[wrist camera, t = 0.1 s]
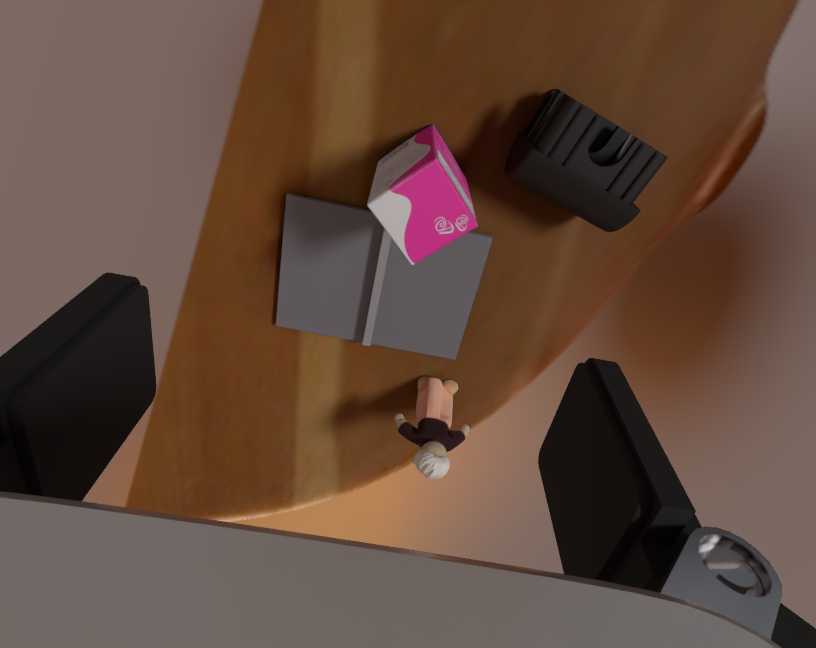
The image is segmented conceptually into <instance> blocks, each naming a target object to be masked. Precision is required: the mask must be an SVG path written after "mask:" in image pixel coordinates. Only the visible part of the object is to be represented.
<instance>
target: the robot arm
mask: <svg viewBox="0 0 816 648" xmlns="http://www.w3.org/2000/svg"><path fill="white" fill-rule="evenodd" d="M155 393H156V376H155V365H154V353H153V342H152V330H151V319H150V307H149V296H148V290H147V288H146V287H145V286H142V285H140V282H139V280H138V279H137V278H136V277H131V276H125V275H119V274H114V273H105V274H103V275H102V276H100V277H99V278H98V279H97V280H96V281H94V282H93V283H92V284H91V285H89V286H88V287H87V288H86V289H84V290H83V291H82V292H81V293H79V294H78V295H77V296H76V297H74V298H73V299H72V300H71V301H69V302H68V303H67V304H66V305H64V306H63V307H62V308H61V309H59V310H58V311H57V312H56V313H54V314H53V315H52V316H51V317H49V318H48V319H47V320H46V321H44V322H43V323H42V324H41V325H39V326H38V327H37V328H36V329H35V330H33V331H32V332H31V333H30V334H28V335H27V336H26V337H25V338H23V339H22V340H21V341H20V342H18V343H17V344H16V345H15V346H13V347H12V348H11V349H10V350H8V351H7V352H6V353H5V354H3V355H2V356H1V357H0V648H816V629H815V628H814V627H813V626H811V625H810V624H809V623H807V622H806V621H804V620H803V619H802V618H800V617H799V616H798V615H796V614H795V613H794V612H792V611H791V610H790V609H788V608H787V607H785V606H784V605H783V604H781V603H780V601H781V597H782V585H781V582H780V580H779V577H778V575H777V573H776V571H775V570H774V568H773V567H772V566H771V564H770V563H769V561H768V560H767V559H766V558H765V557H764V556H763V555H762V554H761V553H760V552H759V551H758V550H757V549H756V548H755V547H753V546H752V545H751V544H749V543H748V542H747V541H745V540H744V539H742V538H740V537H739V536H737V535H735V534H733V533H731V532H729V531H726V530H723V529H720V528H717V527H701V525H700V523H699V521H698V519H697V517H696V516H695V512H696V511H695V509H694V507H693V506H692V503H691V501H690V499H689V498H688V496H687V494H686V492H685V490H684V488H683V486H682V484H681V483H680V481H679V479H678V477H677V475H676V473H675V471H674V469H673V467H672V465H671V464H670V462H669V460H668V458H667V456H666V454H665V452H664V450H663V448H662V447H661V445H660V443H659V441H658V439H657V437H656V435H655V433H654V431H653V429H652V427H651V425H650V424H649V422H648V420H647V418H646V416H645V414H644V412H643V410H642V408H641V407H640V405H639V403H638V401H637V399H636V397H635V395H634V393H633V391H632V389H631V388H630V386H629V384H628V382H627V380H626V378H625V376H624V374H623V372H622V371H621V369H620V367H619V365H618V364H617V363H616V362H612V361H606V360H600V359H594V358H589V359H588V360H587V361H586V362H585V363H579V364H578V365H577V366H576V368H575V371H574V373H573V375H572V377H571V380H570V382H569V384H568V387H567V389H566V391H565V393H564V396H563V398H562V400H561V403H560V405H559V407H558V410H557V412H556V415H555V416H554V419H553V421H552V424H551V426H550V428H549V430H548V433H547V435H546V437H545V440H544V442H543V444H542V446H541V449H540V452H539V460H538V462H539V463H538V464H539V469H540V473H541V477H542V482H543V486H544V490H545V494H546V499H547V503H548V507H549V512H550V516H551V520H552V524H553V529H554V533H555V537H556V541H557V545H558V550H559V554H560V558H561V562H562V567H563V571H564V574H560V573H554V572H548V571H542V570H536V569H530V568H524V567H518V566H511V565H505V564H499V563H492V562H486V561H479V560H472V559H466V558H460V557H454V556H447V555H441V554H435V553H428V552H422V551H415V550H409V549H403V548H396V547H389V546H383V545H376V544H369V543H363V542H356V541H350V540H342V539H336V538H330V537H323V536H317V535H310V534H303V533H296V532H290V531H283V530H277V529H270V528H263V527H256V526H250V525H243V524H236V523H229V522H223V521H216V520H209V519H202V518H195V517H188V516H181V515H174V514H167V513H160V512H153V511H147V510H140V509H133V508H126V507H119V506H112V505H105V504H97V503H89V502H82V500H83V499H84V497H85V496H86V494H87V493H88V492H89V490H90V489H91V487H92V486H93V485H94V483H95V482H96V480H97V479H98V477H99V476H100V475H101V473H102V472H103V470H104V469H105V468H106V466H107V465H108V463H109V462H110V461H111V459H112V458H113V456H114V455H115V454H116V452H117V451H118V449H119V448H120V447H121V445H122V444H123V442H124V441H125V440H126V438H127V437H128V435H129V434H130V432H131V431H132V430H133V428H134V427H135V426H136V424H137V423H138V421H139V420H140V419H141V417H142V416H143V414H144V413H145V412H146V410H147V409H148V407H149V406H150V405H151V403H152V401H153V399H154V397H155Z"/></svg>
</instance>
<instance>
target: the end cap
mask: <svg viewBox="0 0 816 648" xmlns="http://www.w3.org/2000/svg"><path fill="white" fill-rule="evenodd" d="M667 158H668V157H667V156H665V155H664V154H662V153H660V152H659V151H657V150H655V149H654V148H653V147H651V146H649V145H648V144H646V143H645V142H643V141H641V140H640V139H638V138H637V137H635V136H633V135H632V134H630V133H628V132H627V131H625V130H624V129H622V128H620V127H619V126H617V125H615V124H614V123H612V122H610V121H609V120H607V119H606V118H604V117H602V116H601V115H599V114H597V113H596V112H594V111H593V110H591V109H589V108H588V107H586V106H584V105H583V104H581V103H580V102H578V101H576V100H575V99H573V98H571V97H570V96H568V95H566V94H565V93H563V92H562V91H560V90H558V89H553V90H551V91H550V92H549V93H548V94H547V96H546V98H545V99H544V101H543V103H542V104H541V106H540V107H539V109H538V111H537V112H536V114H535V116H534V117H533V119H532V120H531V122H530V124H529V125H528V127H527V129H526V130H525V132H524V133H522V132H520V134H519V135H518V137H517V139H516V141H515V143H514V145H513V147H512V149H511V151H510V153H509V156H508V159H507V162H506V166H505V173H506V176H507V177H509V178H510V179H512V180H514V181H516V182H518V183H519V184H521V185H523V186H525V187H526V188H528V189H530V190H532V191H534V192H535V193H537V194H539V195H541V196H543V197H544V198H546V199H548V200H550V201H552V202H553V203H555V204H557V205H559V206H561V207H562V208H564V209H566V210H568V211H570V212H571V213H573V214H575V215H577V216H579V217H580V218H582V219H584V220H586V221H588V222H589V223H591V224H593V225H595V226H596V227H598V228H600V229H602V230H604V231H607V232H613V231H616V230H619V229H621V228H622V227H624V226H626V225H627V224H628V223H629V222H631V221H632V220H633V219H634V218H635V217H636V216H637V214H638V213H639V212H640V211H641V210H640V209H639V208H638V207H637V206H636V205H635V204H634V203H633V202H634V200H635V199H636V198H637V197H638V195H639V194H640V193H641V191H642V190H643V189H644V188H645V186H646V185H647V184H648V182H649V181H650V180H651V179H652V177H653V176H654V175H655V173H656V172H657V171H658V170H659V168H660V167H661V166H662V164H663V163H664V162H665V160H666V159H667Z"/></svg>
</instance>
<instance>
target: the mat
mask: <svg viewBox="0 0 816 648" xmlns="http://www.w3.org/2000/svg"><path fill="white" fill-rule="evenodd" d="M492 239H493V236H492V235H488V234H483V233H479V232H474V231H469V232H467V233H465V234H464V235H462V236H460V237H459V238H457V239H456V240H454V241H452V242H450V243H449V244H447V245H445V246H444V247H442V248H441V249H439V250H437V251H436V252H434V253H432V254H431V255H429V256H427V257H426V258H424V259H422V260H421V261H419V262H417V263H416V264H414V265H411V264H410V262H409V261H408V259H407V258H406V257H405V255H404V254H403V253H402V251H401V250H400V248H399V247H398V246H397V245H396V243H395V242H394V241H393V239H392V238H391V237H390V235H389V234H388V233H387V231H386V230H385V229H384V227H383V226H382V225H381V223H380V222H379V221H378V219H377V218H376V217H375V215H374V214H373V213H372V212H371V210H368V209H363V208H358V207H354V206H349V205H344V204H339V203H334V202H329V201H325V200H320V199H315V198H310V197H305V196H301V195H296V194H291V193H287V195H286V205H285V218H284V230H283V242H282V255H281V267H280V279H279V292H278V304H277V317H276V326H280V327H285V328H290V329H295V330H301V331H306V332H311V333H316V334H322V335H327V336H332V337H338V338H343V339H348V340H353V341H359V342H363V344H362V345H366V346H370V344H374V345H380V346H385V347H390V348H396V349H401V350H406V351H411V352H417V353H422V354H427V355H432V356H438V357H443V358H448V359H454V360H456V357H457V353H458V350H459V347H460V344H461V340H462V337H463V334H464V331H465V327H466V324H467V321H468V318H469V314H470V311H471V308H472V305H473V301H474V298H475V295H476V292H477V288H478V285H479V282H480V278H481V275H482V272H483V269H484V265H485V262H486V259H487V256H488V252H489V249H490V246H491V243H492Z"/></svg>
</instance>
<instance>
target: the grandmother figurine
mask: <svg viewBox="0 0 816 648" xmlns="http://www.w3.org/2000/svg"><path fill="white" fill-rule="evenodd" d="M457 390H458V384H457V383H456V382H454V381H452V380H445V381H443V382H441V381H440V380H439V379H437V378H432V377H427V376H424V377H421V378H420V379H419V380H418V397H417V403H416V418H417V425H418V429H416V428H415V427H414V426H412V425H411V424H410V423H408V422H407V421H406V420H405V419H404V416H403V415H402V414H400V413H398V414H396V415H395V417H394V420H395V422H396V423H397V426H398V428H399V429H398V432H399V433H400V434H401V435H403V436H404V437H405V438H406V439H408V440H409V441H411V442H413V443H415V444H417V445H419V446H420V447H421V450H419V451H418V452H417V453H416V454H415V458H414V461H413V462H414V463H415V465H416V467H417V469H418V470H419V471H420V473H422V474H424V475H425V476H426V477H427V478H436V479H438V478H441V477H443V476H444V475H445V474H446V473H447V471H448V469H449V467H450V462H449V460H448V458H447V452H448V451H450V450H452V449H453V448H455V447H456V446H458V445H459V444H460V443H462V442H463V441H464V440H465V437H466V435H467V433H468V432H469V426H468V425H466V424H463V425H461V426H460V428H459V429H458V431H451V430H449V429H450V427H451V422H452V407H453V395H454V394H455V393H456V391H457Z"/></svg>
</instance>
